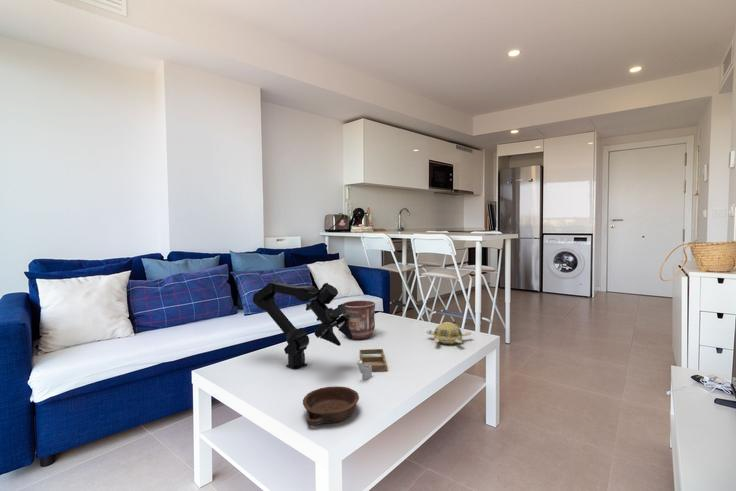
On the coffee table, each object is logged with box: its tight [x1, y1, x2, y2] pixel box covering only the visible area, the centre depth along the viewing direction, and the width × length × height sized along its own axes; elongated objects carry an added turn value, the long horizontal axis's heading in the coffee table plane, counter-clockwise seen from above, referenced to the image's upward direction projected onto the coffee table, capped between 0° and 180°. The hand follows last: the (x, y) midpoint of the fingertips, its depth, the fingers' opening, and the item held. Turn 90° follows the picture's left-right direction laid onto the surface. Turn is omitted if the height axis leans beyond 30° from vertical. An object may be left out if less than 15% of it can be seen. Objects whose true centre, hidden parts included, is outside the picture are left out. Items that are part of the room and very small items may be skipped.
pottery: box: [342, 299, 376, 341], centre depth 197 cm, size 18×18×18 cm
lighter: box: [356, 359, 373, 381], centre depth 141 cm, size 7×2×8 cm, turn 143°
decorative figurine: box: [425, 321, 472, 345], centre depth 184 cm, size 26×21×10 cm
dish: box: [302, 386, 360, 426], centre depth 116 cm, size 18×22×5 cm
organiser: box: [359, 348, 388, 374], centre depth 158 cm, size 20×11×2 cm, turn 3°
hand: (346, 341), depth 144 cm, fingers open, 9 cm apart
